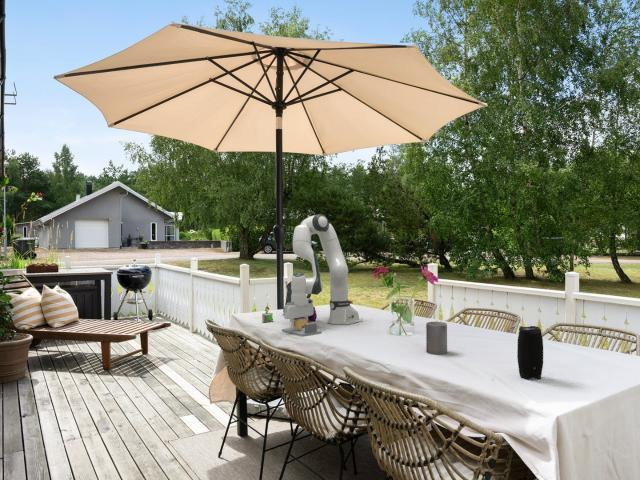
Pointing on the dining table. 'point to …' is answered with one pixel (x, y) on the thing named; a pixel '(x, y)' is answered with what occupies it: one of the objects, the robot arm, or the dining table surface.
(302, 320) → the module
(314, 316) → the mounting bracket
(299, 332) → the backplate
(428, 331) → the pillar candle
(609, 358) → the dining table surface
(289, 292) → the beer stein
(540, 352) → the portable speaker
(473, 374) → the dining table surface
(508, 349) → the dining table surface
